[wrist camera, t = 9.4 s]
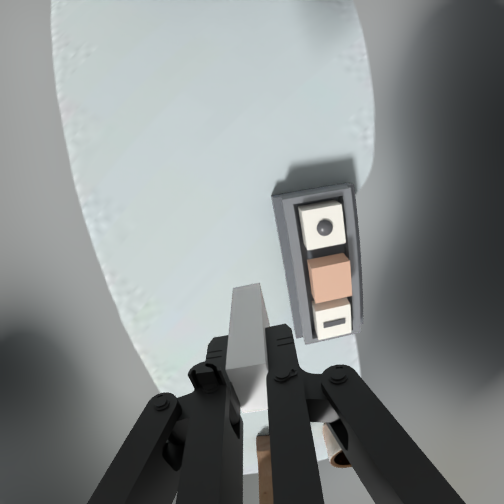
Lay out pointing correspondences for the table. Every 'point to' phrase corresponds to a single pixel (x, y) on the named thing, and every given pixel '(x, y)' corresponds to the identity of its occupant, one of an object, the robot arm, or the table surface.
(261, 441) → the wooden block
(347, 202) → the keypad
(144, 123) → the table surface
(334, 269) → the blank key
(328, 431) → the planter
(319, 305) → the bar key
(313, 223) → the dot key
